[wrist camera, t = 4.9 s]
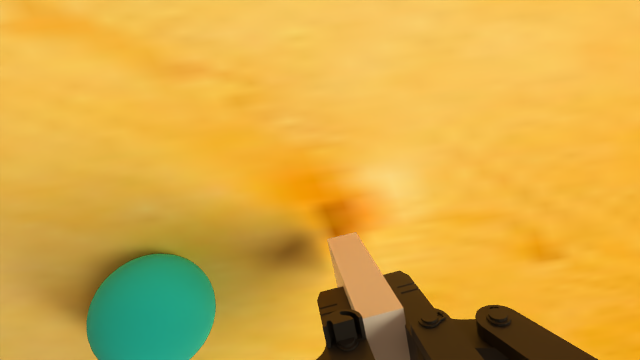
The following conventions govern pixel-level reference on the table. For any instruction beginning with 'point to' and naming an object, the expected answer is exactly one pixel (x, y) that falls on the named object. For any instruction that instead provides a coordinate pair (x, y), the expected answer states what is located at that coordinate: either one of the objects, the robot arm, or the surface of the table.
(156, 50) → the table surface
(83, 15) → the table surface
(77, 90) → the table surface
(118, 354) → the ball
